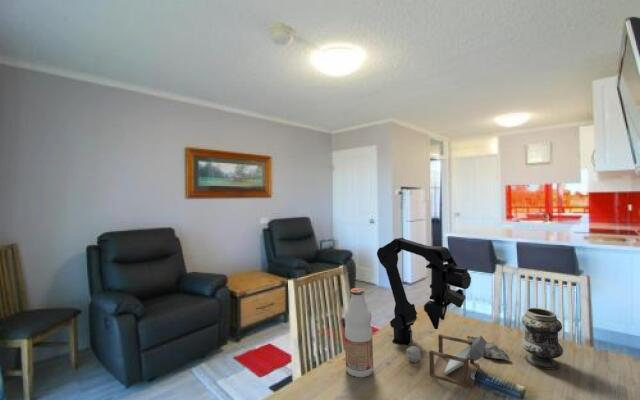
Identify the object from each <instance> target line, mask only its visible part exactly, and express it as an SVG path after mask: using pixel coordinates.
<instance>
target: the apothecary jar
mask: <svg viewBox="0 0 640 400" xmlns="http://www.w3.org/2000/svg"><path fill="white" fill-rule="evenodd" d="M520 319H521V323H522V325H523V326H524V327H525V328H524V329H525V330H524V331H525V333H524V336H523V337H522V338H521V341H520V344H521V346H522V348H523V349H524V350H525V351H526V352H528V353H529V354H526V355H525V357H524V360H525V361H526V362H527V363H528V364H529V365H531V366H534V367H535V368H539V369H544V370H547V371H548V370H550V371H551V370H552V371H553V370H558V369H560V363H559V362H558V361H557V360H555V359H558V358H559V357H561V356H563V353H564V349H563V346H562V345H561V343H559V332H561V331H562V330H563V324H562V322H561V321H560V320H559V319H558V318H557V314H556V313H555V312H554V311H552V310H550V309H546V308H542V307H541V308H540V307H528V308H526V313H525V314H523V315H522V316H521V318H520Z"/></svg>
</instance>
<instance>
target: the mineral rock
mask: <svg viewBox="0 0 640 400" xmlns="http://www.w3.org/2000/svg"><path fill="white" fill-rule="evenodd" d="M466 338H467V340H468V341H474V340H475V339H476V338H478V337H477V336H476V337H475V336H471V335H467V337H466ZM467 345H468V346H470V344H467ZM468 346H467V347H468ZM483 357H484V358H491V359H497V360H500V359H501V360H506V361H508V360H510V356H509V355H508V354H507V353H506V352H505V351H504V349H502V348H500V347H498V345H496V344H494V343H492V342H488V341H486V346H485V351H484V355H483Z"/></svg>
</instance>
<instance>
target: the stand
mask: <svg viewBox="0 0 640 400" xmlns="http://www.w3.org/2000/svg"><path fill="white" fill-rule="evenodd" d="M437 339H438V351H435V350H431V349H430V350H429V352H428V353H429V355H428V357H429V361H428V362H429V366H428V367H429V376H430V377H434V378H438V379H440V380H441V379H442V380H443V381H447V382H450V383H454V384H458V385H461V386H465V387H469V388H472V389H474V386H475V382H476V379H475V380H473V379H472V378H471V373H473V372H477V373H478V370H479V366H480V364H479V362H476V361H474V360H473V358H472V359H471V360H469V361H468V359H465V358H460V357H456V356H454V355H452V354H451V355H450V354H447V353H444V348H443V347H444V344H443V343H444V341H443V340H449V341H454V342H458V343H461V344H462V343H463V344H466V345H468V344H470V345H472V344H473V341H468V339H463V338H458V337H454V336H449V335H446V334H445V335H444V334H441V333H440V334H438V338H437ZM435 356H436V357H437V359H436V361H435ZM450 359H452V360H456V361H460V362H464V365H462V366H460V367H458V368H457V369H455V370H453V371H452V372H450V373H448V374H447V375H446V374H445V373H444V372H445V369H446V367H447V365H448V362H449V360H450Z"/></svg>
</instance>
